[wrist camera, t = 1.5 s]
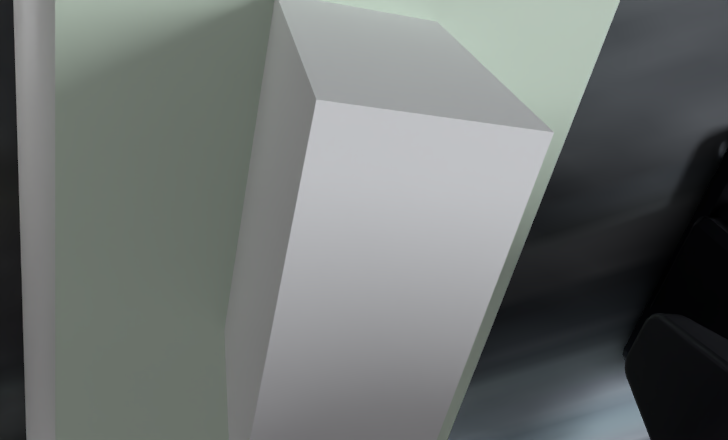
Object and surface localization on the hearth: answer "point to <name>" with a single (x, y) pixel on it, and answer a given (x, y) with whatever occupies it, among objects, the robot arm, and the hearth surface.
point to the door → (279, 206)
